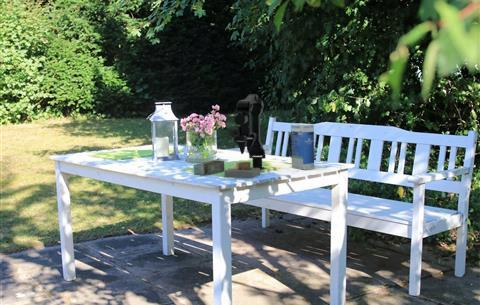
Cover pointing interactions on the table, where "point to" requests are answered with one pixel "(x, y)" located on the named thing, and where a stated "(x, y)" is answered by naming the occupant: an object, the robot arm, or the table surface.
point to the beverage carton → (209, 168)
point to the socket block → (242, 173)
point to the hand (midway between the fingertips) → (245, 152)
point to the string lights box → (302, 146)
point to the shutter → (238, 166)
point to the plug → (246, 166)
